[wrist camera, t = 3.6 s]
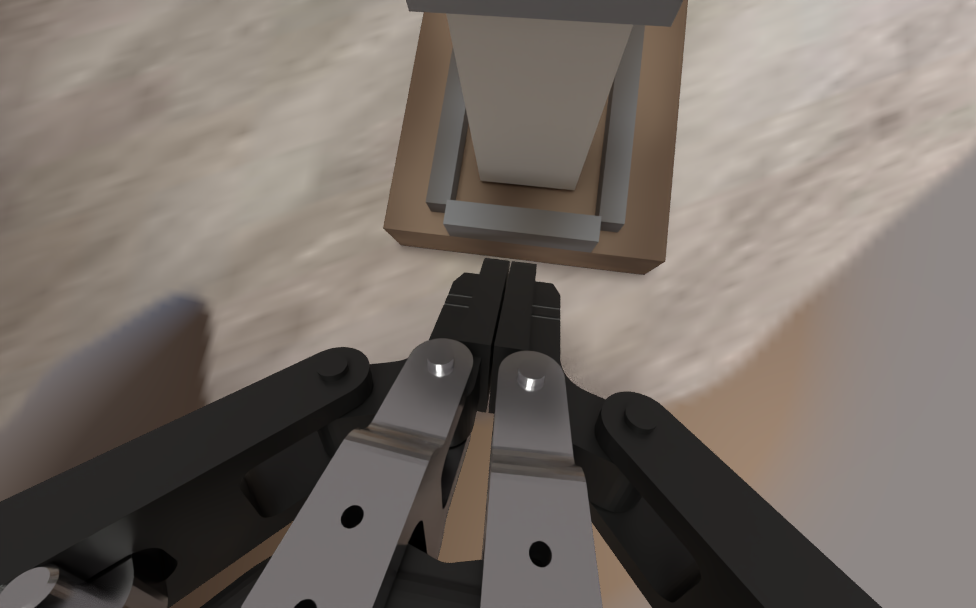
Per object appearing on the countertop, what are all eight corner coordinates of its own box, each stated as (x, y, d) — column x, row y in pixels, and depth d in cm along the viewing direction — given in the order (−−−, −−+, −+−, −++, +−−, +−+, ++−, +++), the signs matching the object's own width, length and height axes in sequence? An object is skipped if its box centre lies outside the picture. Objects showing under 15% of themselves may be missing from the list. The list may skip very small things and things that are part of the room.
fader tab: (465, 190, 16) (375, -96, 6) (478, 104, 16) (419, -293, 6) (587, 203, 15) (722, -84, 5) (597, 114, 16) (739, -299, 6)
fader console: (400, 244, 19) (369, 215, 15) (471, -148, 22) (461, -261, 18) (644, 274, 17) (681, 251, 13) (683, -144, 20) (723, -264, 16)
